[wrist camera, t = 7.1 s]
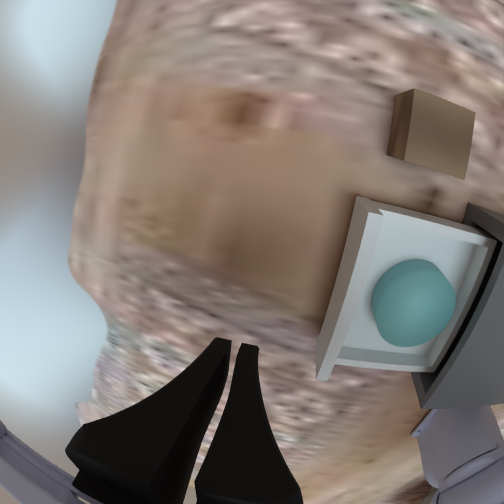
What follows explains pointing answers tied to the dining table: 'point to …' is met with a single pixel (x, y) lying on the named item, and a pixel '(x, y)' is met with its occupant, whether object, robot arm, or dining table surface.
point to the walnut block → (431, 132)
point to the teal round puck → (412, 303)
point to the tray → (381, 260)
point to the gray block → (473, 337)
